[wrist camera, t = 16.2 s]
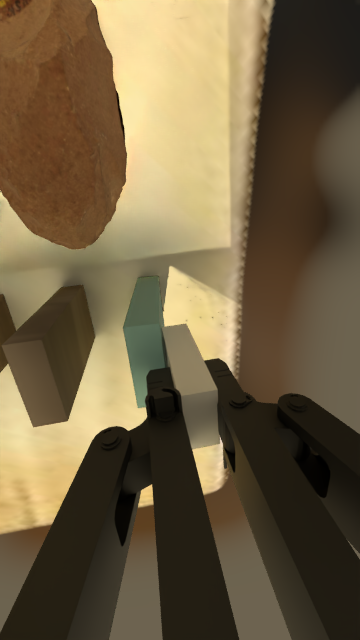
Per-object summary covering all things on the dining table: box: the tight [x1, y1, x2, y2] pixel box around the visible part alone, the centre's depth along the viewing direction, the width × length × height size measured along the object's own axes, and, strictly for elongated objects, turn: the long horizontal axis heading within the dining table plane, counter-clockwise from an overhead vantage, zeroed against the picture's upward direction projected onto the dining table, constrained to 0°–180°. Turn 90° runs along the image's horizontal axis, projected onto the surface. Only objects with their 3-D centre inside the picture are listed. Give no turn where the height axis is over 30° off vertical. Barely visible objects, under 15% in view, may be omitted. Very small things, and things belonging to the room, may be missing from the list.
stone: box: [0, 0, 127, 249], centre depth 16 cm, size 18×9×5 cm
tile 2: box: [1, 285, 95, 427], centre depth 18 cm, size 2×5×11 cm, turn 5°
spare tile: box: [123, 276, 167, 408], centre depth 19 cm, size 2×5×11 cm, turn 5°
